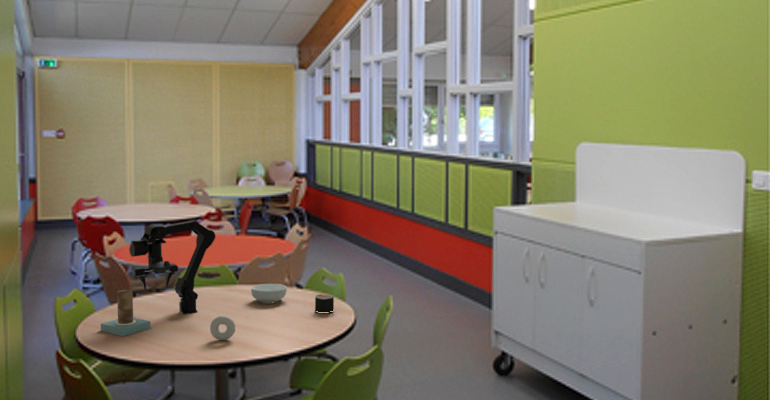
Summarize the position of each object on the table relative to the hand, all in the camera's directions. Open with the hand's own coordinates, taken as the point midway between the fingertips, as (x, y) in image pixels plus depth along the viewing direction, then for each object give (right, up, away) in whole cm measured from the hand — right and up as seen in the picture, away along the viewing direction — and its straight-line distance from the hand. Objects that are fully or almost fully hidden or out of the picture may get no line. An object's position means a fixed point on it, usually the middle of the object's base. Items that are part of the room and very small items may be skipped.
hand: (155, 288), depth 320 cm
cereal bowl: (+45, -10, +31) cm, 56 cm away
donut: (+36, -17, -29) cm, 50 cm away
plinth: (-7, -15, -16) cm, 23 cm away
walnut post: (-7, -12, -17) cm, 22 cm away
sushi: (+73, -12, +14) cm, 76 cm away
